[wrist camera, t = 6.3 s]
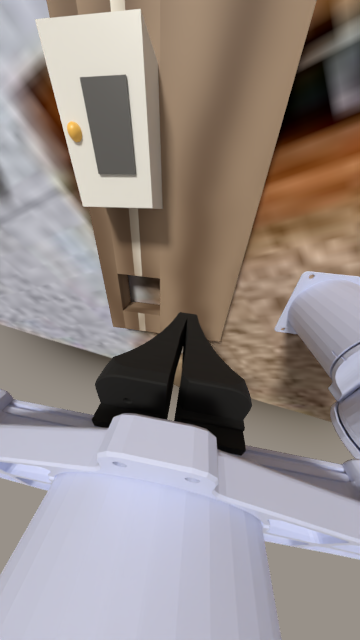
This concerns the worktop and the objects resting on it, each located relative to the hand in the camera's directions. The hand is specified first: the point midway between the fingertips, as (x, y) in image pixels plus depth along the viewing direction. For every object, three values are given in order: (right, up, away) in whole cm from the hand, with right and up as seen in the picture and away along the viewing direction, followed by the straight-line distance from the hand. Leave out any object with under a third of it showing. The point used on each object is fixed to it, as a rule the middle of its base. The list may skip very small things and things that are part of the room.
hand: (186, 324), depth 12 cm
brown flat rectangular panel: (-1, +10, +4) cm, 11 cm away
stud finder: (-4, +13, -1) cm, 13 cm away
